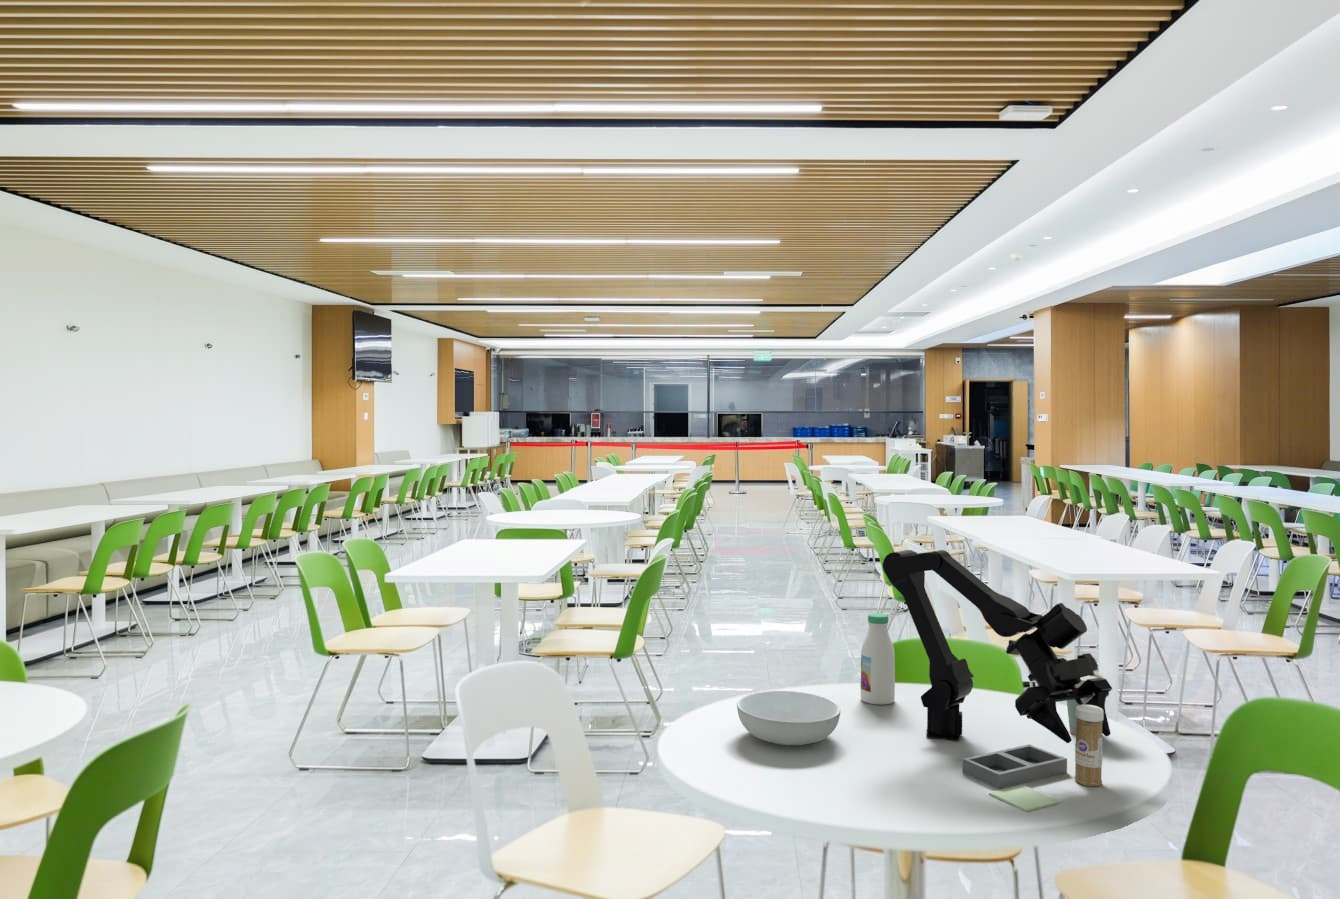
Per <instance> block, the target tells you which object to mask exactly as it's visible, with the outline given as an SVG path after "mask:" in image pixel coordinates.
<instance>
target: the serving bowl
mask: <svg viewBox="0 0 1340 899" xmlns="http://www.w3.org/2000/svg"><path fill="white" fill-rule="evenodd" d="M736 709H737V714H738V719H739V721H740V723H741V725H742V726H743V727H744V728H745V730H746V731H747V732H749V734H751V735H752V736H754V737H756V738H757V739H760V740H762V741H766V742H768V743H769V742H770V743H773V744H776V745H780V746H781V745H782V746H790V745H793V746H801V745H808V744H809V745H810V744H813V743H817V742H820V741H822V740H825V739H826V738H828V737H829V736H830V735H831V734H832V733H833V732H834V731H835V729H836V728H837V726H838V724H839V720H840V716H841V707H840V705H839V704H838V703H836V702H834V701H833V700H831V699H830V698H827V697H825V696H820V695H817V694H813V693H809V692H800V691H791V690H769V691H767V690H766V691H761V692H755V693H754V692H753V693H751V694H747V695H745V696H742V697H741V698H739V699H738V701H737V702H736Z"/></svg>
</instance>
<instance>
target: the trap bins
mask: <svg viewBox="0 0 1340 899" xmlns="http://www.w3.org/2000/svg"><path fill="white" fill-rule="evenodd" d="M961 769H962V773H963V774H965V775H967V776H970V777H972V778H973V779H976V780H979V781H980V782H983V783H985V784H988V785H990V786H991V787H994V788H997V789H998V790H1001V789H1006V788H1010V787H1014V786H1018V785H1022V784H1024V783H1029V782H1032V781H1037V780H1040V779H1045V778H1049V777H1053V776H1058V775H1061V774H1065V773H1067V772H1068V758H1066V757H1063V756H1061V755H1058V754H1056V753H1053V752H1052V751H1051V752H1050V751H1047V750H1045V749H1043V748H1039V747H1037V746H1035V745H1032V744H1025V745H1020V746H1015V747H1011V748H1006V749H1001V750H996V751H992V752H987V753H983V754H980V755H978V754H977V755H974V756H970V757H965V758H962V768H961Z"/></svg>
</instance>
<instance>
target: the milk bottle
mask: <svg viewBox="0 0 1340 899" xmlns="http://www.w3.org/2000/svg"><path fill="white" fill-rule="evenodd" d="M867 624H868V629H867V633H866V636H865V638H864V640H863V642H862V646H861V652H860V654H861V655H860V699H861V701H863V702H864V703H866V704H871V705H878V706H879V705H881V706H884V705H890V704H893V703H894V702H895V699H896V698H895V696H896V695H895V692H896V690H895V688H896V683H895V682H896V665H895V664H896V657H895V656H896V655H895V647H894V644H893V641H892V639H891V637H890V634H889V631H888V625H889V616H888V615H887V614H885V613H869V614H868V616H867Z"/></svg>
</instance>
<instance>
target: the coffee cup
mask: <svg viewBox="0 0 1340 899" xmlns="http://www.w3.org/2000/svg"><path fill="white" fill-rule="evenodd" d="M1094 674H1095V675H1093V676H1090V675H1088V676H1085V677H1081V678H1080V679H1081V682H1080V683H1079V684H1076V685H1075V688H1078V687H1080V686H1081V685H1082V684H1083V683H1084V682H1085V681H1086V680H1087V679H1093V678H1104V679H1106V680H1107V678H1106V677H1105V675H1102V674H1099V673H1095V672H1094ZM1068 695H1069V694H1068ZM1106 699H1107V697H1106V698H1105V703H1104V705H1105V706H1106ZM1077 705H1079V704H1078V703H1077V702H1076V700H1075V699H1073V700H1066V708H1067V715H1068V725H1069V734H1071V733H1072V735H1073V736H1075V735H1076V716H1075V709H1076V706H1077Z"/></svg>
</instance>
